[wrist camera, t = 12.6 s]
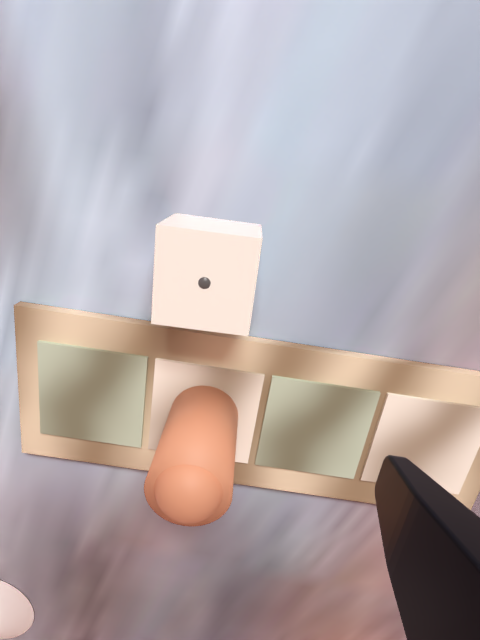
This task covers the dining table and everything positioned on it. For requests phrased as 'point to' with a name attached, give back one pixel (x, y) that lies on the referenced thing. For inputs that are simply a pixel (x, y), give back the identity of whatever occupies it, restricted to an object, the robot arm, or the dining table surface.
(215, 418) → the peach rounded cylinder
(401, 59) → the dining table surface
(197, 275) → the die
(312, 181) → the dining table surface
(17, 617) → the champagne flute
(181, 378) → the board
